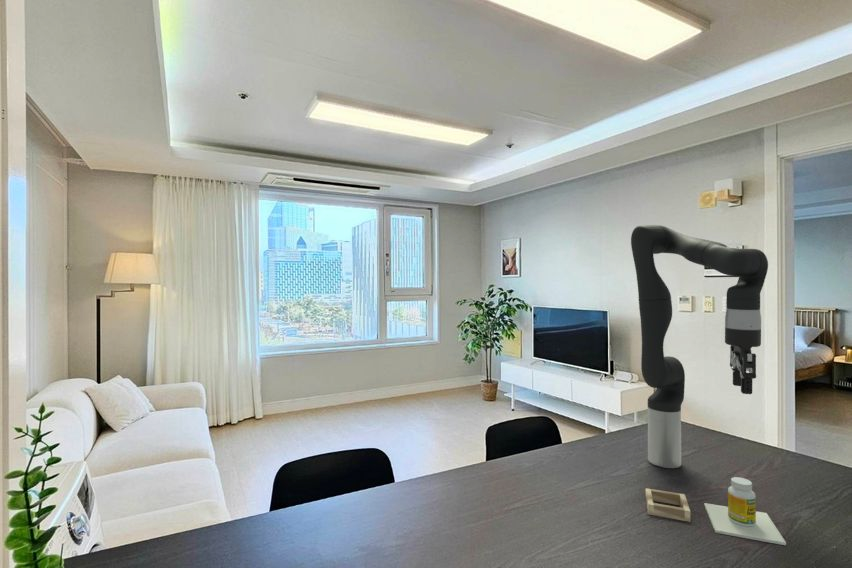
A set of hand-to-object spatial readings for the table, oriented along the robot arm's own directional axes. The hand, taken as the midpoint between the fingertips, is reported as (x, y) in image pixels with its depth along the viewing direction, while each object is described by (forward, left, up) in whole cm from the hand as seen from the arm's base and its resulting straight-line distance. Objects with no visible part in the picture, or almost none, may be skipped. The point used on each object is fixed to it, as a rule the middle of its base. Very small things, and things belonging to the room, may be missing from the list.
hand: (741, 389), depth 113 cm
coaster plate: (+11, -3, -29) cm, 32 cm away
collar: (+10, -18, -29) cm, 36 cm away
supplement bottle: (+11, -3, -29) cm, 31 cm away
